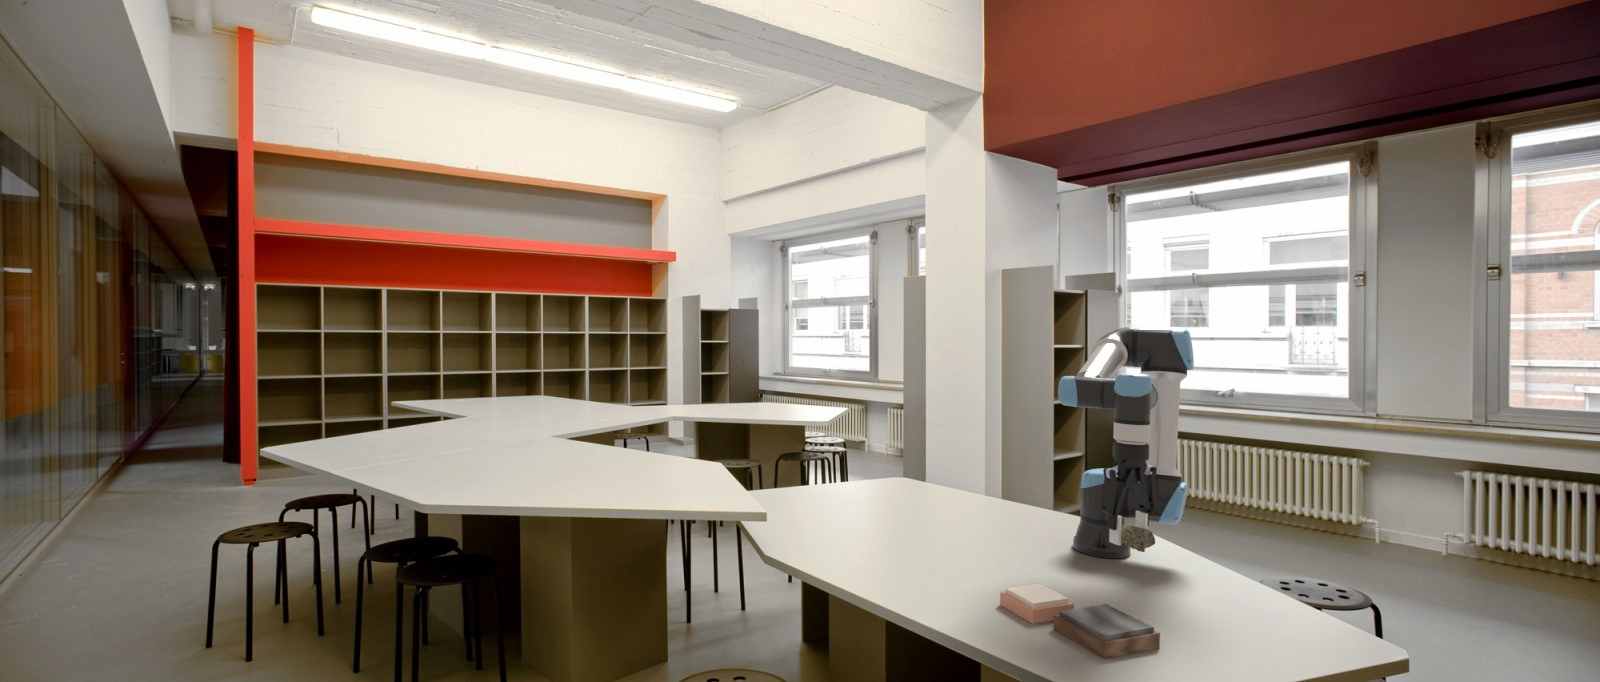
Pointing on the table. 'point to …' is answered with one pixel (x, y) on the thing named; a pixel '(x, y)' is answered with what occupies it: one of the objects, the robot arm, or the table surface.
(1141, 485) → the robot arm
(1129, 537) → the rock
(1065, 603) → the terracotta plinth
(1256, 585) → the table surface
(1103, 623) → the walnut plinth
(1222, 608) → the table surface
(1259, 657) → the table surface
